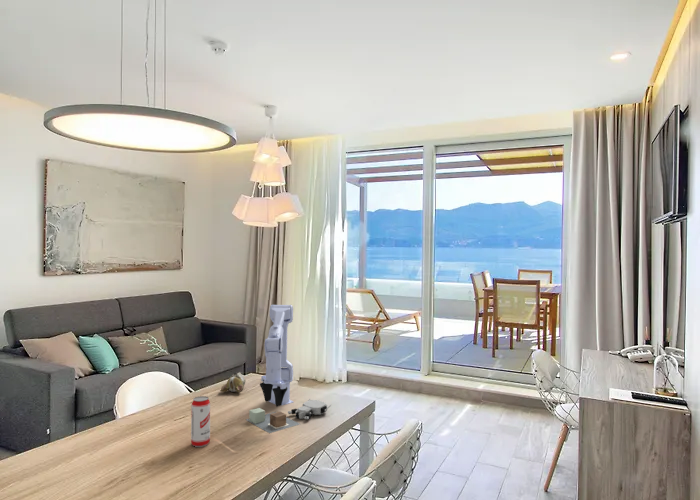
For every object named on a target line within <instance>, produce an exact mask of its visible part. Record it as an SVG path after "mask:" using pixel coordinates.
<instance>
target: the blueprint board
mask: <svg viewBox="0 0 700 500" xmlns="http://www.w3.org/2000/svg"><path fill="white" fill-rule="evenodd" d="M275 412H276V411H273V412H269V413H265V421H263V422H259V423H256V424H255V423H253V422H251V421H249V418H247V419H245V421H247V422H249V423H251V424H252V425H254V426H256V427H258V428H259V429H261V430H263V431H265V432H266V433H269V434H272V433H275V432H279V431H282V430H286V429H289V428H292V427H296V426H298V425H301V423H300V422H297V421H295V420H293V419H291V418H289V417H287V416H286V425H284V426H280V427H277V428H276V427H274V426H272V425H270V414H272V413H275Z"/></svg>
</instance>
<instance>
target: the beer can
mask: <svg viewBox="0 0 700 500" xmlns="http://www.w3.org/2000/svg"><path fill="white" fill-rule="evenodd" d="M190 411H191V412H190V413H191V416H190V417H191V418H190V419H191V420H190V421H191V423H190V424H191V425H190V426H191V429H190V431H191V432H190V442H191V443H190V444H191V445H192V446H193V447H194V446H195V448H204V447H206V446H207V445H209V443H210V440H211V401H210V400H209V397H208V396H205V395H202V396H195V397H193V398H192V402H191V410H190ZM203 446H204V447H203Z"/></svg>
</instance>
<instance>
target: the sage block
mask: <svg viewBox="0 0 700 500" xmlns="http://www.w3.org/2000/svg"><path fill="white" fill-rule="evenodd" d="M248 414H249V415H248V419H249V421H251V422H253V423H255V424H256V423H259V422H263V421H265V414H266V410H264V409H262V408H261V407H258V408H253V409H249V410H248Z"/></svg>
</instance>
